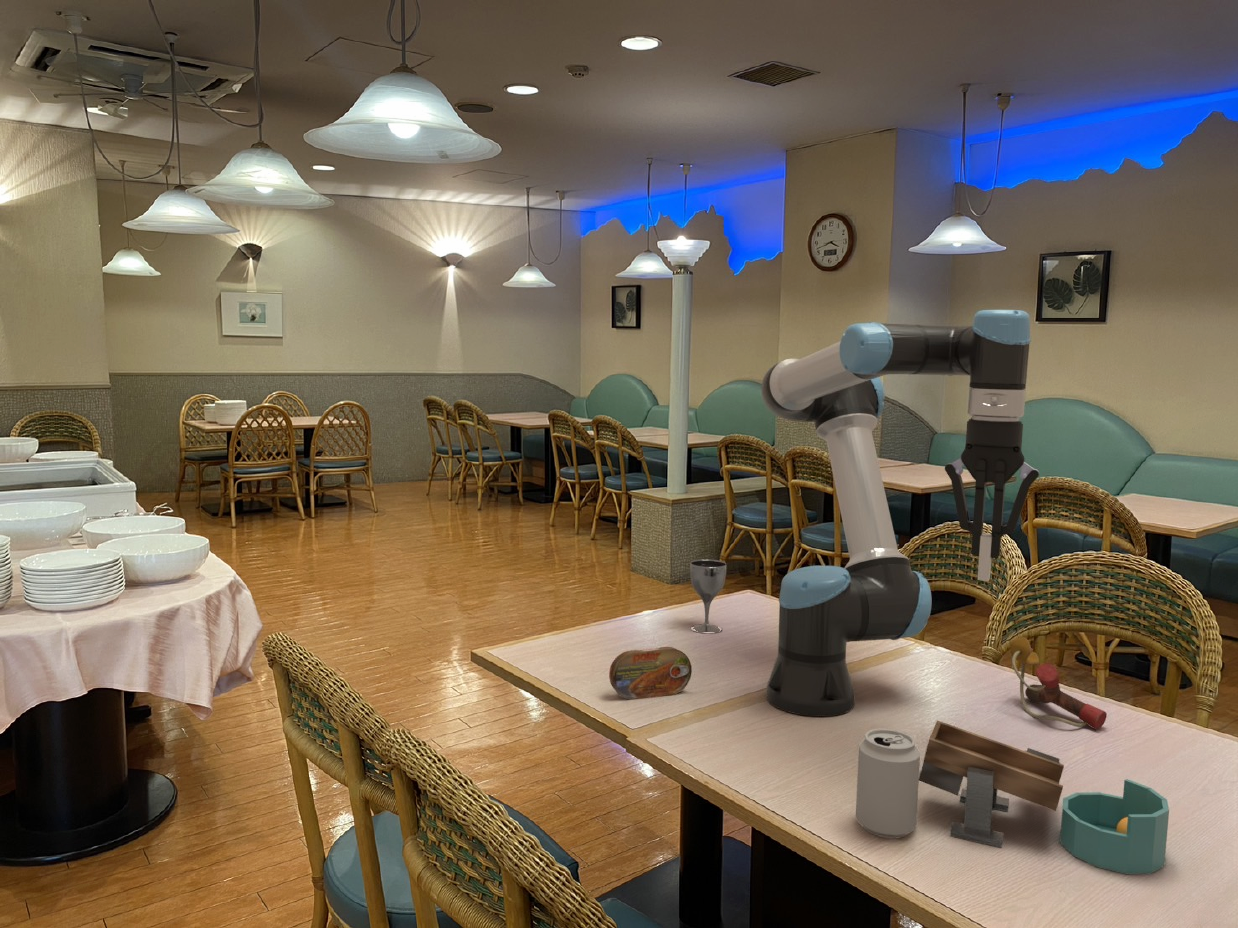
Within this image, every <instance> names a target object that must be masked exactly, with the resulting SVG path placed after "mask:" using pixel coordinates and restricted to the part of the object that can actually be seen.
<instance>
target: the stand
mask: <svg viewBox="0 0 1238 928" xmlns="http://www.w3.org/2000/svg"><path fill="white" fill-rule="evenodd" d="M993 786H994V771H989V770H984V769H979V768H974V767H969V768H968V772H967V778H966V789H965V788H962V789H961V792H960V796H959V802H960V803H965V806H964V807H965V809H964V820H963V821H964V823H960V822H956V821H952V824H951V827H950V833H949V834H950V835H949V836H950V837H952V838H957V839H961V840H967V841H971V842H974V843H979V844H983V845H987V846H990V847H995V848H1000V849H1002V848H1003V843H1004V842H1003V841H1004V832H999V831H996V830H991V829H992V814H993V809H994V810H999V811H1004V812H1007V813H1008V812H1009V807H1010V798H1007V797H1004V796H1000V795H998V789H995V788H993Z"/></svg>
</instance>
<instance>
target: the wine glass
mask: <svg viewBox="0 0 1238 928" xmlns="http://www.w3.org/2000/svg"><path fill="white" fill-rule="evenodd" d="M689 564H690V565H689V571H690V572H689V573H690V581H691V585H692V588H693V589H694V591H695V592H696V594H697V595H698V597H699V598H700V599H701V600H702V601H701V602H702V603H703V606H704V622H703V623H702V624H695V626H694V625H692V626H691V627H694V628H693V629H695V630H696V631H698V632H719V631H720V629H719V628H718V625H714V624H710V622H709V621H710V620H709V616H710V614H709V613H710V608H711V605H712V602H713V600H714V599H715V598H716V597H717V595H718V594H719V593H721V591H722V590H723V589H724V585H725V583H726V582H725V581H726V576H727V563H726V562H725V561H723V560H717V559H710V558H709V559H708V558H706V559H705V558H704V559H700V558H699V559H694V560H691V561H690V563H689ZM719 633H720V632H719Z"/></svg>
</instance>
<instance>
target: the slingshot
mask: <svg viewBox="0 0 1238 928" xmlns="http://www.w3.org/2000/svg"><path fill="white" fill-rule="evenodd" d="M1009 646H1010V656H1011V666H1012V667H1013V670H1014V672H1015V674H1016V676H1017V677H1018V680H1020V681H1019V693H1020V694H1019V695H1020V701H1021V705H1022V706H1023V708H1024V710H1025V712H1026V713H1027V714H1028V715H1030V716H1031V717H1033V718H1035V719H1041V720H1042V719H1043V720H1044V719H1045V720H1053V721H1057V722H1061V723H1065V724H1067V725H1070V726H1073V727H1077V728H1081V727H1082V728H1083V727H1085V726H1087V725H1088V726H1090V727H1091V728H1092V729H1095V731H1097V730H1100V729H1101V728H1102V726H1103V725H1104V723H1105V722H1106V719H1107V718H1108V717H1107V712H1106V711H1105V710H1102V709H1101V708H1099V707H1096V706H1094V705H1091V704H1089V703H1085V702H1084V701H1081V700H1080V699H1077V698H1076V697H1074V696H1071V695H1069V694H1068V693H1065V692H1063V690H1061V687H1060V675H1059V671H1058V669H1057V668H1056V667H1055V665H1052V664H1050V663H1043V664H1042V663H1041V664H1040V659H1039V656H1038V654H1037V653H1036V652H1035V651H1032V646H1031V644H1030V641H1029V640H1028V639H1027V637H1023V636H1022V637H1018V638H1015V639H1012V640H1011V641H1010V643H1009ZM1016 661H1018V662H1020V663H1021V671H1020V672H1019V669H1018V668H1017V665H1016ZM1026 665H1027V666H1038V667H1037V668H1036V669H1035V670H1036V671H1035V674H1036V677H1037V679H1038V681H1039V682H1040V684H1034V683H1033V684H1028V683H1026V681H1025V673H1026V672H1025V671H1026ZM1024 686H1025V687H1026V689H1025V694H1024ZM1025 696H1026V697H1027V699H1028V700H1029V701H1030V702H1031V703H1032V702H1033V703H1037V704H1038V703H1039V704H1053V705H1056V706H1057V707H1059V708H1061V709H1063V710H1065V711H1067V712H1069V713H1070V714H1072V715H1074V716H1076V717H1078V719H1079V720H1081V721H1082V722H1081V723H1078V722H1074V721H1071V720H1069V719H1065V718H1061V717H1058V716H1054V715H1042V714H1036V713H1034V712H1033V711H1031V710H1030V709H1029V708H1028V707H1029V706H1027V703H1026V700H1025Z"/></svg>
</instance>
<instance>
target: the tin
mask: <svg viewBox="0 0 1238 928" xmlns="http://www.w3.org/2000/svg"><path fill="white" fill-rule="evenodd" d="M608 672H609V673H608V674H609V676H608V677H609V682H610V685H611V687H612V689H613V690H614V691H615V692H616V693H617V694H618V695H619V696H620V697H621V698H622V699H625V700H629V701H635V700H642V699H650V698H651V699H652V698H659V697H667V696H674V695H677V694H679V693H681V692H682V691H683V690H684V689H685V688H686V687H687V686H688V684H689V682H690V680H691V677H692V672H693V670H692V663H691V661H690V659H689V656H688V655H687V654H685V652H683V651H682V650H679V649H677V648H675V647H673V646H661V647H655V648H654V647H651V648H644V649H634V650H633V649H632V650H626V651H623V652H622V653H620V654H619V655H617V656H616V657H615V658H614V660H613V661H612V662H611V664H610V668H609V671H608Z"/></svg>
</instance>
